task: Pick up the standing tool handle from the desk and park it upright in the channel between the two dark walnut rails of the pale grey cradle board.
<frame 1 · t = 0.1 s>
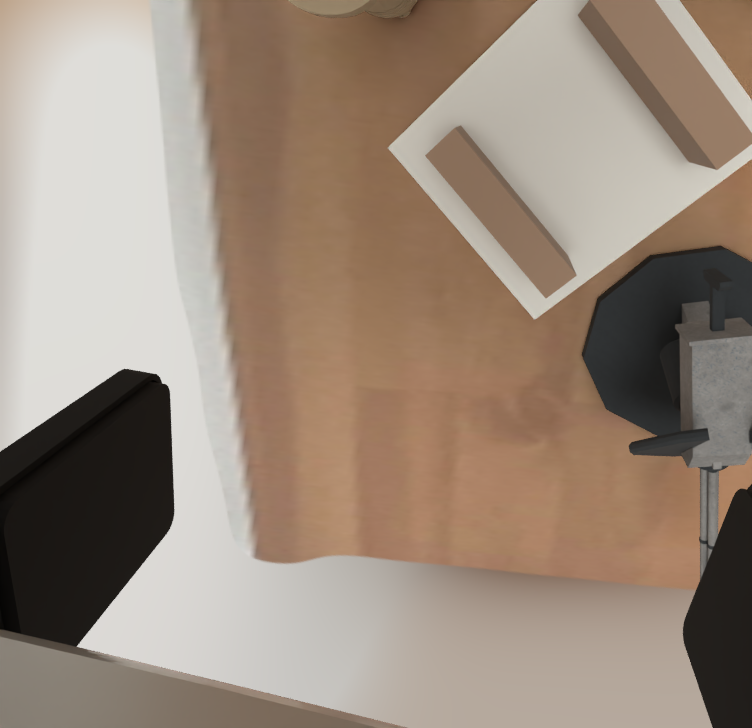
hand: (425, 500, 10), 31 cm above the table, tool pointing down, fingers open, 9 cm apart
cradle: (570, 142, 36), on the table
gun turret: (685, 385, 40), on the table
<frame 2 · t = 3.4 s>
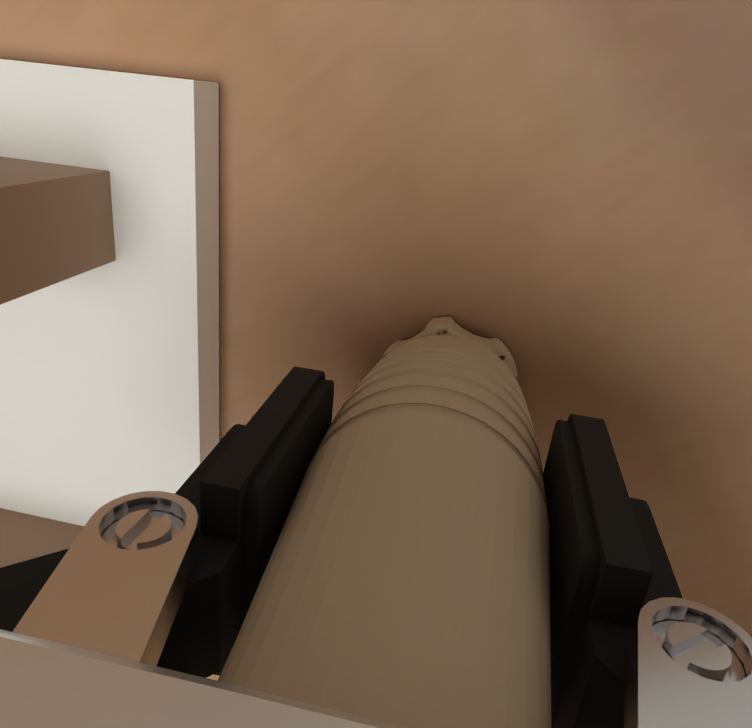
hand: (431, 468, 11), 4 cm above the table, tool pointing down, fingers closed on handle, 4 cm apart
handle: (450, 372, 15), on the table, touching gripper
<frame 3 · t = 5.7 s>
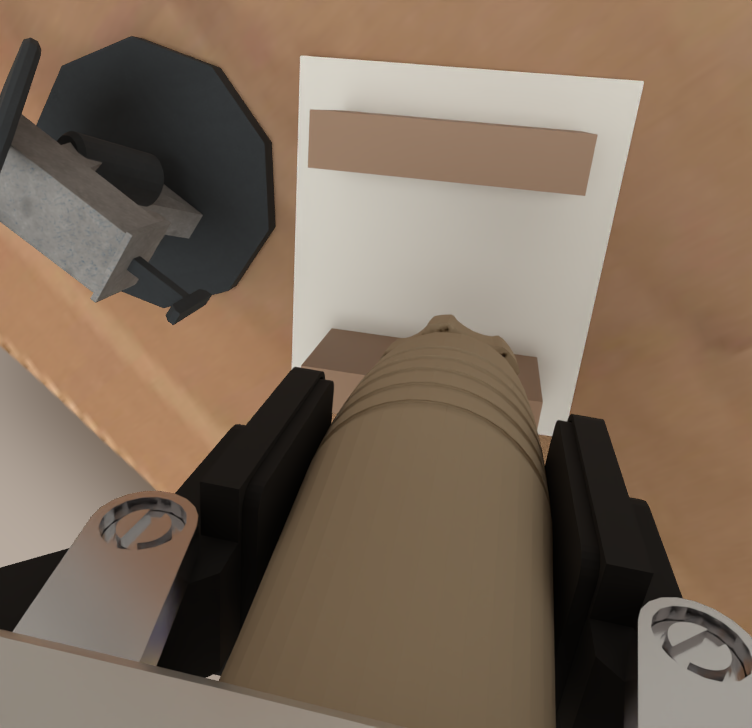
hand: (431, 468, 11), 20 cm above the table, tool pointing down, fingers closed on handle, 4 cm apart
handle: (452, 370, 15), point 15 cm above the table, touching gripper
cradle: (444, 255, 29), on the table
gun turret: (112, 142, 31), on the table
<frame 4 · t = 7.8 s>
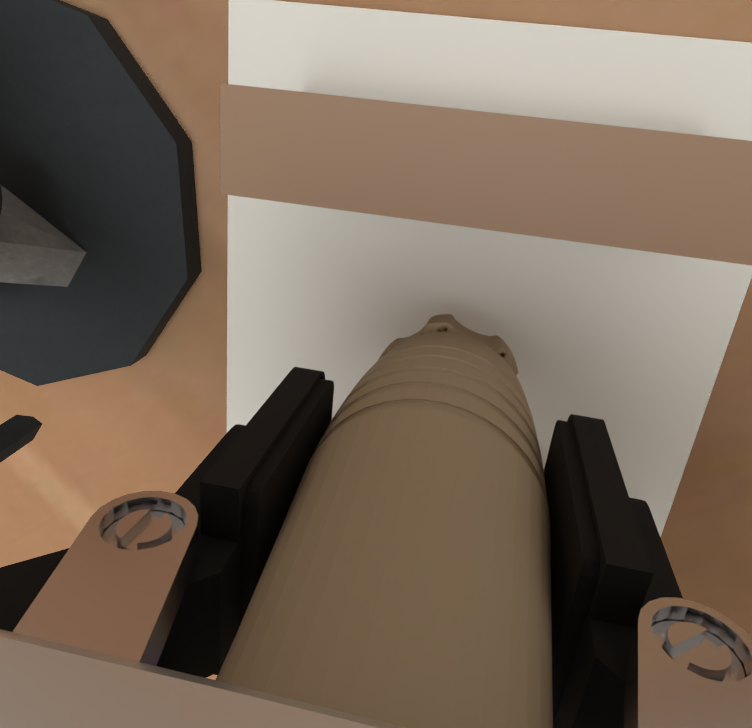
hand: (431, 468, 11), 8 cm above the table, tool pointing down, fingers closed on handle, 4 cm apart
handle: (451, 370, 15), point 4 cm above the table, touching gripper
cradle: (461, 325, 19), on the table
when the fingers open (7 cm above the table, at t = 8.4 s): handle drops 2 cm, resting on cradle.
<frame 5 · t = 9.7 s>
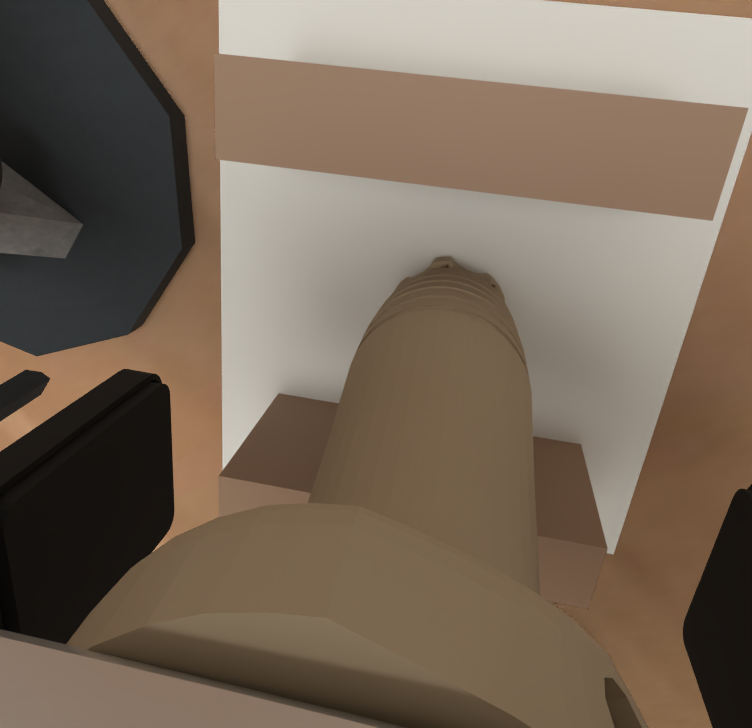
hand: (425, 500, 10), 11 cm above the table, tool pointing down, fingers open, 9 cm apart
handle: (449, 304, 19), point 1 cm above the table, touching cradle
cradle: (445, 290, 20), on the table
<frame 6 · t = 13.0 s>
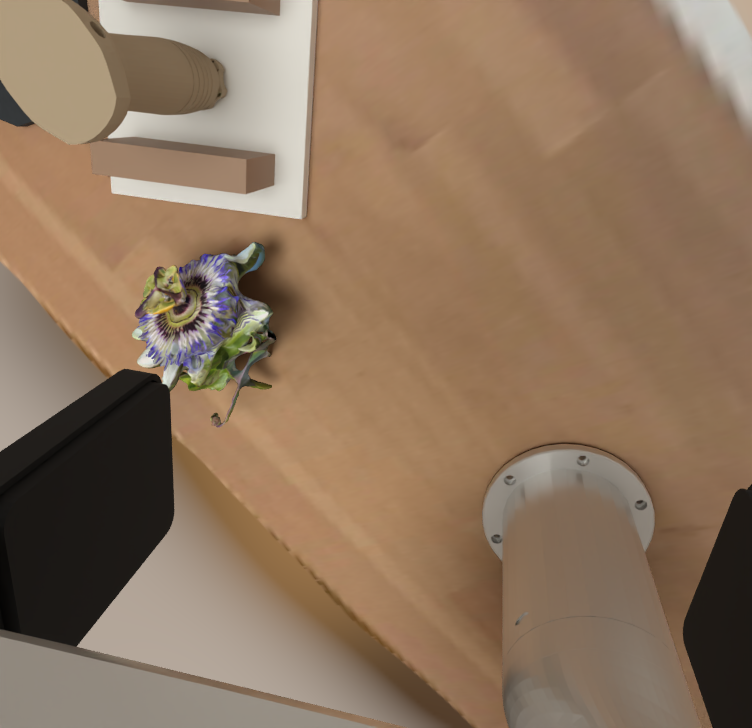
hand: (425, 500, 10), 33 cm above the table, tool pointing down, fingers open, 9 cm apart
handle: (207, 81, 40), point 1 cm above the table, touching cradle
cradle: (211, 80, 41), on the table
passion flower: (239, 315, 47), on the table
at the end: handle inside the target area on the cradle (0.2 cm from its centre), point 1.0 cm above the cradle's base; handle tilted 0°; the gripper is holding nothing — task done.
